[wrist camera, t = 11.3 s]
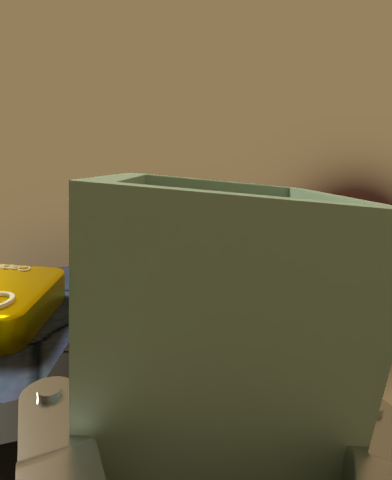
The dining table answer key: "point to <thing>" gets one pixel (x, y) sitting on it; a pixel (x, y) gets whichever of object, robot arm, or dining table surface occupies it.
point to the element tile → (27, 303)
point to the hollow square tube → (225, 326)
